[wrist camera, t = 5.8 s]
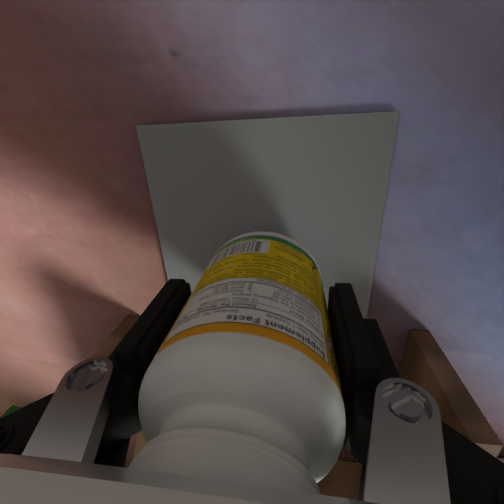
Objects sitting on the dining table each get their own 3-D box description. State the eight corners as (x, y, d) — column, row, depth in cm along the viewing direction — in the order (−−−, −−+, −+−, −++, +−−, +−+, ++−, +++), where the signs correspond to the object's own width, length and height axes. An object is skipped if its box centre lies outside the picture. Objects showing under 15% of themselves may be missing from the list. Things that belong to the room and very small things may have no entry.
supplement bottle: (239, 206, 12) (91, 441, 3) (346, 264, 12) (471, 608, 4) (192, 295, 14) (36, 569, 6) (284, 341, 15) (270, 660, 6)
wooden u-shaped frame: (429, 331, 15) (503, 445, 10) (388, 473, 21) (420, 593, 16) (127, 315, 18) (55, 400, 12) (166, 446, 24) (129, 542, 18)
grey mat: (396, 111, 11) (400, 110, 11) (365, 313, 15) (366, 318, 15) (140, 125, 13) (135, 125, 12) (176, 305, 17) (173, 309, 16)
